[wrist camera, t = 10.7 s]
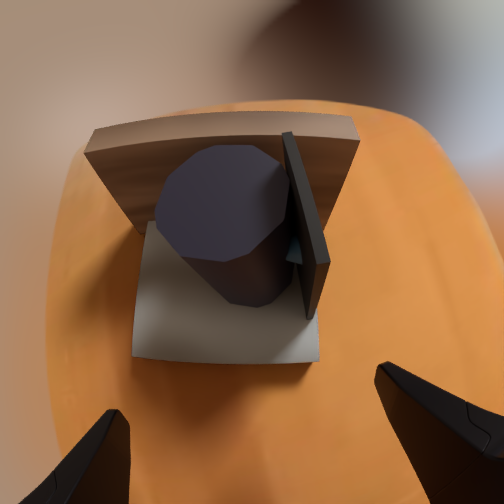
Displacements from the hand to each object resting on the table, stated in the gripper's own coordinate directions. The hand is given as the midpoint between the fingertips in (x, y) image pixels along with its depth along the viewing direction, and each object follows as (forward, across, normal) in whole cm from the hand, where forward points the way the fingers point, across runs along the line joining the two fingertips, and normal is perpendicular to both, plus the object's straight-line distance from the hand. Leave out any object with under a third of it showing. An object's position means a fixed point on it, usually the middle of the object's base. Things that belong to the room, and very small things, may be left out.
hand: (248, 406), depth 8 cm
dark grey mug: (+11, -1, +1) cm, 11 cm away
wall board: (+12, +1, +2) cm, 12 cm away
